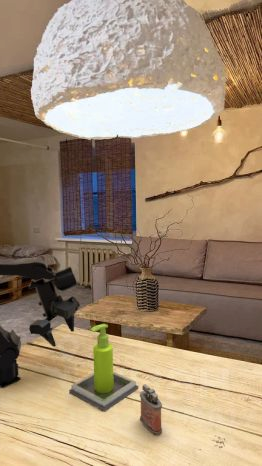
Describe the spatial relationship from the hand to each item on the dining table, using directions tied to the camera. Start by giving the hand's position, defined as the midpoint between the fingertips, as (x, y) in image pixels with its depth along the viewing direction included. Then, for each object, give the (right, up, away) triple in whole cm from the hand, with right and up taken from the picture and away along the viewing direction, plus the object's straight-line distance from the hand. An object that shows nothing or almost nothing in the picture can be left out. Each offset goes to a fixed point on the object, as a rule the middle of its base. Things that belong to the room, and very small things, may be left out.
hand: (63, 338), depth 115 cm
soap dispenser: (+14, -13, -9) cm, 21 cm away
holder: (+14, -13, -9) cm, 21 cm away
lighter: (+28, -15, -26) cm, 41 cm away
